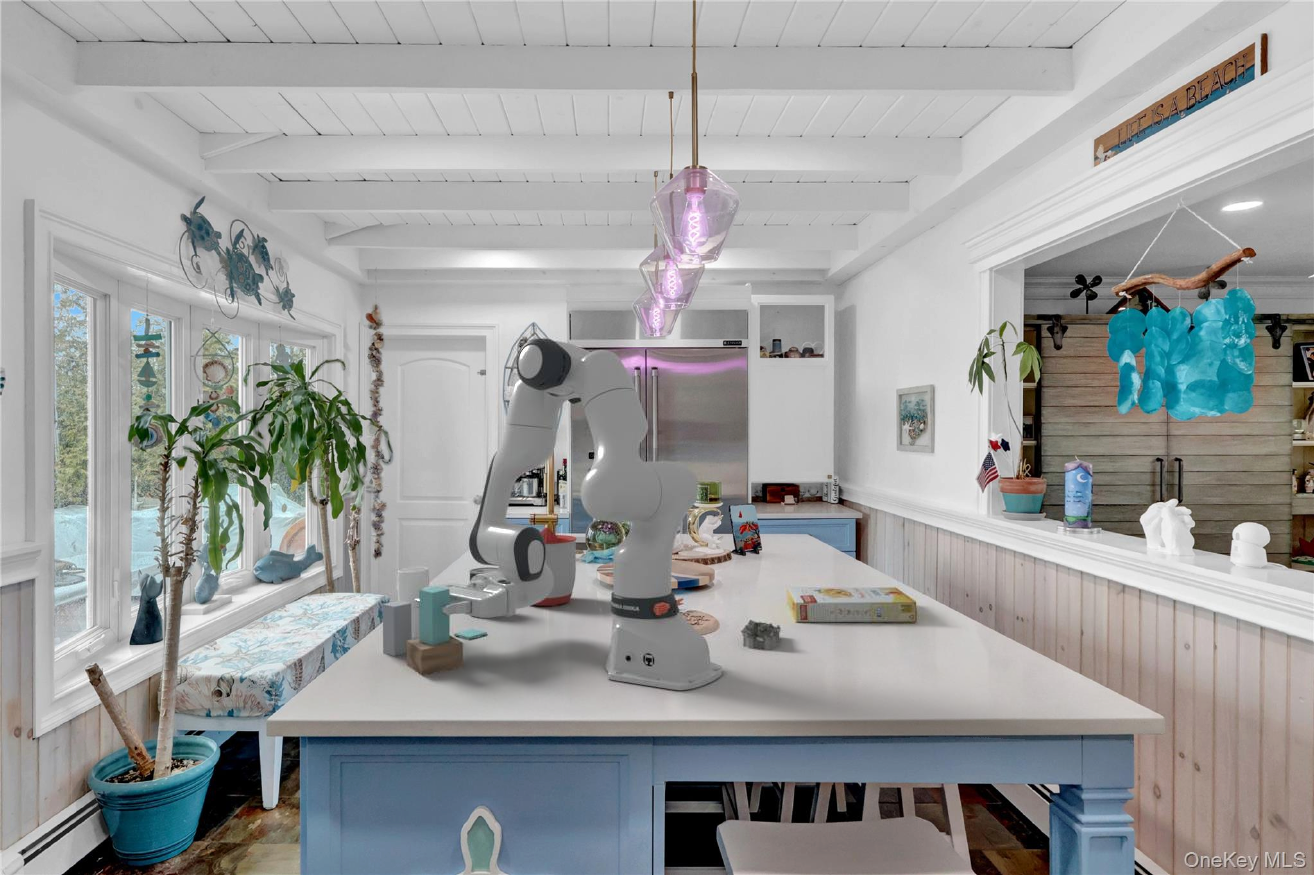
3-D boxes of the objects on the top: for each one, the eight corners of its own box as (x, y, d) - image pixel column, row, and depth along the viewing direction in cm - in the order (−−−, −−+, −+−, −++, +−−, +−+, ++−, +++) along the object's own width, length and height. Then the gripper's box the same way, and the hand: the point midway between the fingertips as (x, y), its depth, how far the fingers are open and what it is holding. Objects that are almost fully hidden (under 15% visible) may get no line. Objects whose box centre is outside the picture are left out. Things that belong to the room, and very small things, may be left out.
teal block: (449, 640, 142) (449, 588, 142) (432, 645, 139) (432, 592, 139) (436, 636, 145) (436, 586, 144) (419, 641, 141) (419, 589, 141)
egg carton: (774, 652, 150) (774, 632, 150) (738, 648, 153) (738, 629, 153) (783, 638, 160) (783, 619, 160) (749, 635, 163) (749, 616, 163)
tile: (487, 634, 164) (486, 632, 164) (468, 639, 160) (468, 637, 160) (472, 631, 167) (472, 628, 167) (454, 636, 163) (454, 633, 163)
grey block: (411, 651, 152) (411, 603, 152) (394, 656, 148) (393, 606, 148) (400, 648, 154) (400, 600, 154) (383, 652, 151) (382, 604, 151)
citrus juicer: (529, 594, 206) (528, 522, 206) (586, 597, 201) (585, 524, 201) (500, 606, 192) (500, 529, 192) (561, 610, 186) (560, 531, 186)
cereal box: (918, 600, 170) (795, 600, 172) (918, 624, 170) (795, 623, 172) (895, 585, 191) (785, 584, 192) (895, 606, 190) (785, 606, 192)
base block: (462, 668, 141) (462, 642, 141) (421, 676, 136) (421, 649, 136) (446, 658, 147) (446, 633, 147) (407, 666, 143) (406, 640, 143)
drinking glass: (403, 642, 158) (402, 573, 158) (393, 636, 163) (393, 568, 163) (434, 637, 162) (433, 569, 162) (423, 631, 167) (423, 565, 167)
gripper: (455, 573, 158) (398, 584, 148) (520, 584, 146) (463, 597, 135) (456, 603, 158) (399, 615, 148) (520, 616, 146) (463, 631, 135)
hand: (430, 607), depth 141 cm, fingers open, 8 cm apart
